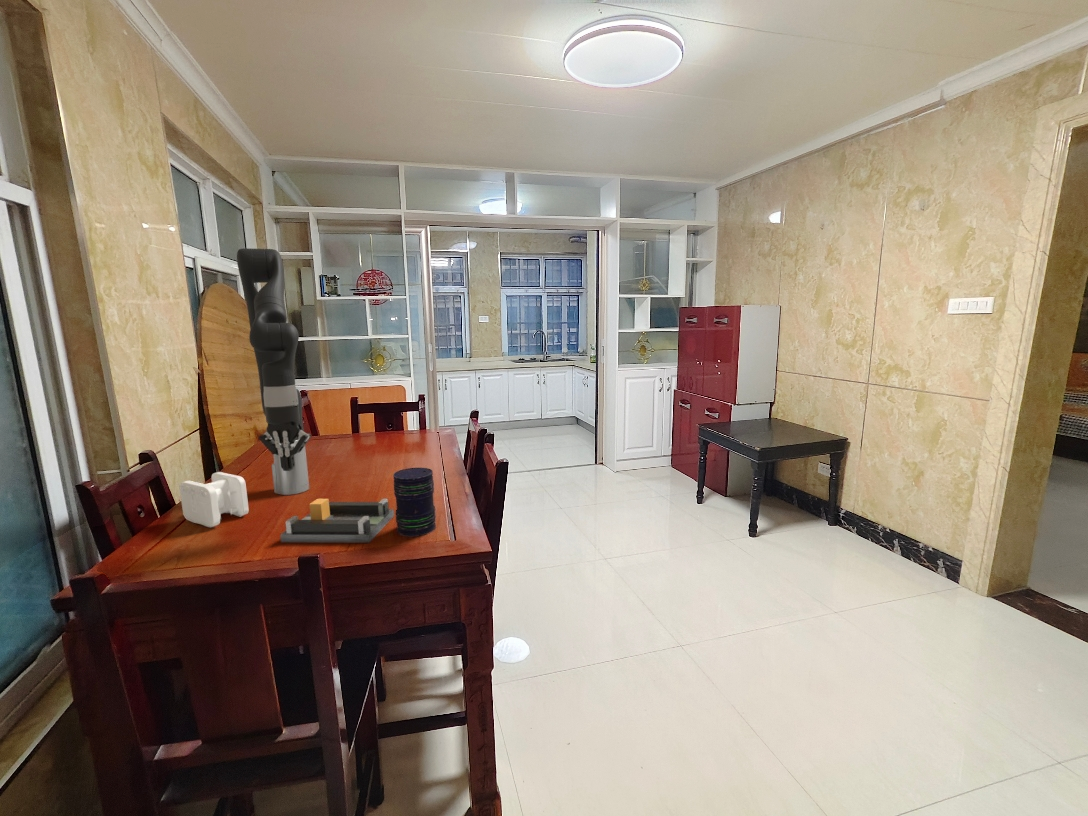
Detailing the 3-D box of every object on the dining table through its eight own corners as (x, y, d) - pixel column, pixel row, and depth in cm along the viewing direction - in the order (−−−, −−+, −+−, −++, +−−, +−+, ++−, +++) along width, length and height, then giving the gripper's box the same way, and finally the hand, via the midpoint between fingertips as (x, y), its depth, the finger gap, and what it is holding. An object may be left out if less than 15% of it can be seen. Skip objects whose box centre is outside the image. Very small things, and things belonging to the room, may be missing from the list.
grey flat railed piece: (281, 542, 118) (278, 522, 117) (316, 515, 135) (315, 498, 134) (369, 542, 117) (367, 522, 116) (394, 515, 134) (392, 498, 133)
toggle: (308, 523, 124) (306, 504, 123) (317, 517, 128) (315, 498, 127) (325, 523, 123) (323, 504, 123) (333, 517, 128) (331, 498, 127)
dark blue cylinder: (399, 539, 118) (395, 480, 116) (394, 525, 127) (390, 470, 125) (439, 532, 122) (436, 475, 120) (432, 518, 131) (429, 465, 129)
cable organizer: (252, 517, 135) (247, 477, 133) (212, 531, 126) (206, 488, 124) (221, 508, 142) (216, 470, 140) (181, 521, 133) (175, 481, 131)
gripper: (246, 406, 118) (254, 474, 121) (299, 405, 117) (305, 474, 120) (265, 401, 125) (272, 466, 128) (314, 401, 125) (320, 465, 127)
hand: (288, 470), depth 124 cm, fingers closed
